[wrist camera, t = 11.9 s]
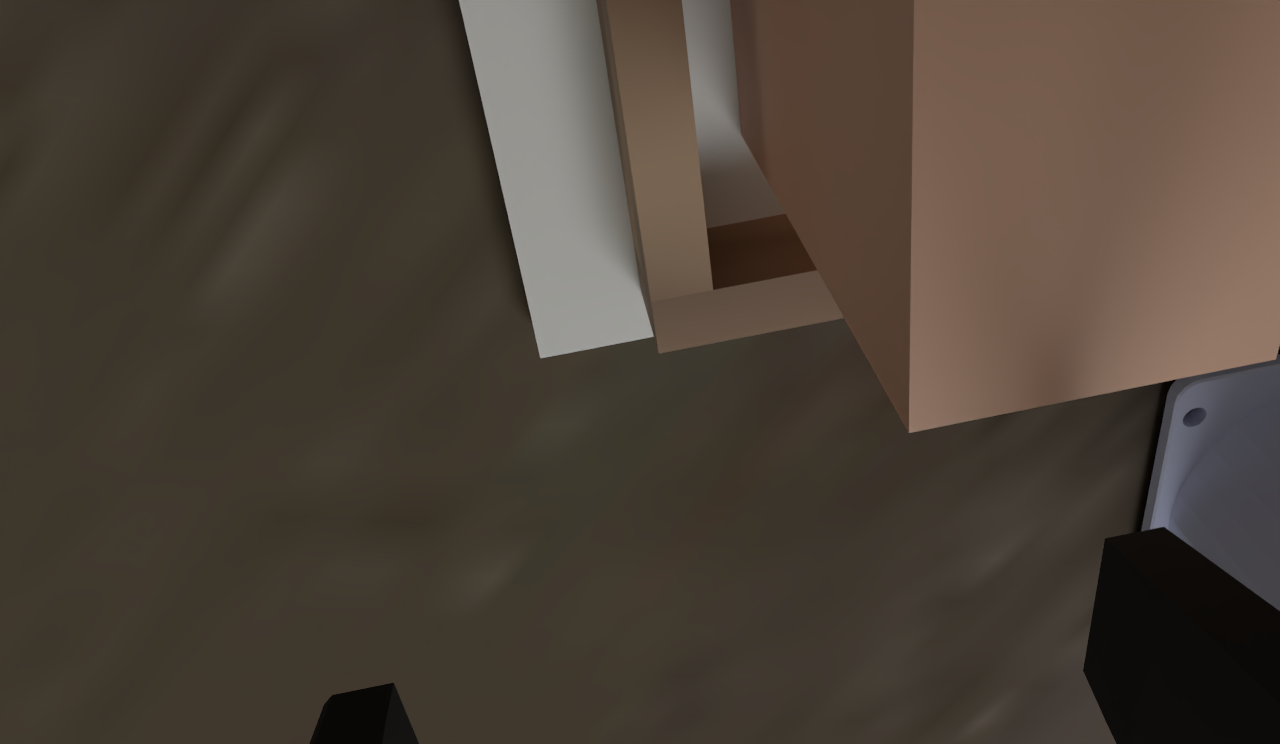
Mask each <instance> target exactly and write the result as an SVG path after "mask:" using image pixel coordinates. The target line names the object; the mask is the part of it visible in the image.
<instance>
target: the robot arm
mask: <svg viewBox="0 0 1280 744" xmlns="http://www.w3.org/2000/svg"><path fill="white" fill-rule="evenodd" d="M1192 409H1194V410H1192ZM1190 410H1192V411H1191V412H1190V413H1189V414H1187V413H1188V412H1189V411H1190ZM1186 414H1187V415H1186ZM1083 671H1084V673H1085V676H1086V678H1087V680H1088V682H1089V685H1090V687H1091V689H1092V691H1093V693H1094V696H1095V698H1096V700H1097V702H1098V705H1099V707H1100V709H1101V711H1102V714H1103V716H1104V718H1105V720H1106V722H1107V725H1108V727H1109V729H1110V731H1111V733H1112V735H1113V737H1114V739H1115V741H1116V743H1117V744H1280V354H1279V355H1277V358H1276V359H1275V360H1270V361H1266V362H1261V363H1256V364H1251V365H1246V366H1241V367H1236V368H1231V369H1226V370H1221V371H1216V372H1211V373H1206V374H1201V375H1196V376H1191V377H1186V378H1181V379H1177V380H1176V381H1175V382H1174V383H1173V384H1172V385H1171V387H1170V389H1169V392H1168V394H1167V399H1166V404H1165V409H1164V415H1163V420H1162V425H1161V430H1160V435H1159V441H1158V446H1157V451H1156V456H1155V461H1154V467H1153V472H1152V477H1151V482H1150V487H1149V493H1148V498H1147V503H1146V508H1145V514H1144V519H1143V524H1142V529H1141V531H1140V532H1135V533H1130V534H1126V535H1121V536H1116V537H1111V538H1106V539H1105V542H1104V549H1103V555H1102V561H1101V567H1100V573H1099V579H1098V585H1097V591H1096V597H1095V603H1094V609H1093V615H1092V621H1091V627H1090V633H1089V639H1088V645H1087V651H1086V657H1085V663H1084V669H1083ZM310 744H419V743H418V740H417V738H416V736H415V733H414V731H413V728H412V726H411V723H410V721H409V719H408V716H407V714H406V711H405V709H404V707H403V704H402V702H401V699H400V697H399V695H398V692H397V690H396V687H395V685H394V683H390V684H385V685H380V686H375V687H370V688H366V689H361V690H356V691H351V692H346V693H341V694H336V695H332V696H331V697H330V698H329V700H328V701H327V702H326V703H325V704H324V706H323V709H322V712H321V714H320V717H319V720H318V723H317V725H316V728H315V731H314V733H313V736H312V739H311V741H310Z"/></svg>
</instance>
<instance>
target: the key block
mask: <svg viewBox="0 0 1280 744" xmlns="http://www.w3.org/2000/svg"><path fill="white" fill-rule="evenodd" d="M730 6H731V18H732V29H733V41H734V52H735V64H736V76H737V87H738V99H739V110H740V122H741V133H742V137H743V139H744V141H745V142H746V144H747V146H748V148H749V149H750V151H751V153H752V155H753V157H754V158H755V160H756V162H757V164H758V165H759V167H760V169H761V171H762V173H763V174H764V176H765V178H766V180H767V181H768V183H769V185H770V187H771V189H772V190H773V192H774V194H775V196H776V197H777V199H778V201H779V203H780V205H781V206H782V208H783V210H784V212H785V213H786V215H787V217H788V219H789V221H790V222H791V224H792V226H793V228H794V229H795V231H796V233H797V235H798V237H799V238H800V240H801V242H802V244H803V245H804V247H805V249H806V251H807V253H808V254H809V256H810V258H811V260H812V261H813V263H814V265H815V267H816V269H817V270H818V272H819V274H820V276H821V277H822V279H823V281H824V283H825V285H826V286H827V288H828V290H829V292H830V293H831V295H832V297H833V299H834V301H835V302H836V304H837V306H838V308H839V309H840V311H841V313H842V315H843V317H844V318H845V320H846V322H847V324H848V325H849V327H850V329H851V331H852V333H853V334H854V336H855V338H856V340H857V341H858V343H859V345H860V347H861V349H862V350H863V352H864V354H865V356H866V358H867V359H868V361H869V363H870V365H871V366H872V368H873V370H874V372H875V374H876V375H877V377H878V379H879V381H880V382H881V384H882V386H883V388H884V390H885V391H886V393H887V395H888V397H889V398H890V400H891V402H892V404H893V406H894V407H895V409H896V411H897V413H898V414H899V416H900V418H901V420H902V422H903V423H904V425H905V427H906V429H907V430H908V432H909V433H911V432H916V431H921V430H926V429H931V428H936V427H941V426H946V425H951V424H956V423H961V422H966V421H971V420H976V419H981V418H986V417H991V416H996V415H1001V414H1006V413H1011V412H1016V411H1021V410H1026V409H1031V408H1036V407H1041V406H1046V405H1051V404H1056V403H1061V402H1066V401H1071V400H1076V399H1081V398H1086V397H1091V396H1096V395H1101V394H1106V393H1111V392H1116V391H1121V390H1126V389H1131V388H1136V387H1141V386H1146V385H1151V384H1156V383H1161V382H1166V381H1171V380H1176V379H1181V378H1186V377H1191V376H1196V375H1201V374H1206V373H1211V372H1216V371H1221V370H1226V369H1231V368H1236V367H1241V366H1246V365H1251V364H1256V363H1261V362H1266V361H1270V360H1275V359H1276V358H1277V354H1278V350H1279V346H1280V0H730Z"/></svg>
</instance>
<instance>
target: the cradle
mask: <svg viewBox="0 0 1280 744" xmlns="http://www.w3.org/2000/svg"><path fill="white" fill-rule="evenodd" d="M459 3H460V7H461V11H462V16H463V20H464V25H465V29H466V33H467V38H468V42H469V47H470V51H471V55H472V60H473V64H474V69H475V73H476V77H477V82H478V86H479V90H480V95H481V99H482V104H483V108H484V112H485V117H486V121H487V126H488V130H489V134H490V139H491V143H492V148H493V152H494V156H495V161H496V165H497V170H498V174H499V178H500V183H501V187H502V191H503V196H504V200H505V205H506V209H507V213H508V218H509V222H510V227H511V231H512V235H513V240H514V244H515V249H516V253H517V257H518V262H519V266H520V270H521V275H522V279H523V284H524V288H525V292H526V297H527V301H528V306H529V310H530V314H531V319H532V323H533V328H534V332H535V336H536V341H537V345H538V350H539V354H540V358H545V357H550V356H555V355H560V354H566V353H571V352H576V351H581V350H587V349H592V348H597V347H602V346H607V345H613V344H618V343H623V342H628V341H634V340H639V339H644V338H649V337H654V339H655V342H656V346H657V349H658V353H664V352H669V351H675V350H680V349H685V348H690V347H695V346H701V345H706V344H711V343H716V342H721V341H727V340H732V339H737V338H742V337H747V336H753V335H758V334H763V333H768V332H773V331H779V330H784V329H789V328H794V327H799V326H805V325H810V324H815V323H820V322H825V321H831V320H836V319H841V318H844V317H843V315H842V313H841V311H840V309H839V308H838V306H837V304H836V302H835V301H834V299H833V297H832V295H831V293H830V292H829V290H828V288H827V286H826V285H825V283H824V281H823V279H822V277H821V276H820V274H819V272H818V270H817V269H816V267H815V265H814V263H813V261H812V260H811V258H810V256H809V254H808V253H807V251H806V249H805V247H804V245H803V244H802V242H801V240H800V238H799V237H798V235H797V233H796V231H795V229H794V228H793V226H792V224H791V222H790V221H789V219H788V217H787V215H786V213H785V212H784V210H783V208H782V206H781V205H780V203H779V201H778V199H777V197H776V196H775V194H774V192H773V190H772V189H771V187H770V185H769V183H768V181H767V180H766V178H765V176H764V174H763V173H762V171H761V169H760V167H759V165H758V164H757V162H756V160H755V158H754V157H753V155H752V153H751V151H750V149H749V148H748V146H747V144H746V142H745V141H744V139H743V137H742V133H741V122H740V110H739V99H738V87H737V76H736V64H735V52H734V41H733V29H732V18H731V6H730V0H459Z"/></svg>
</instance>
